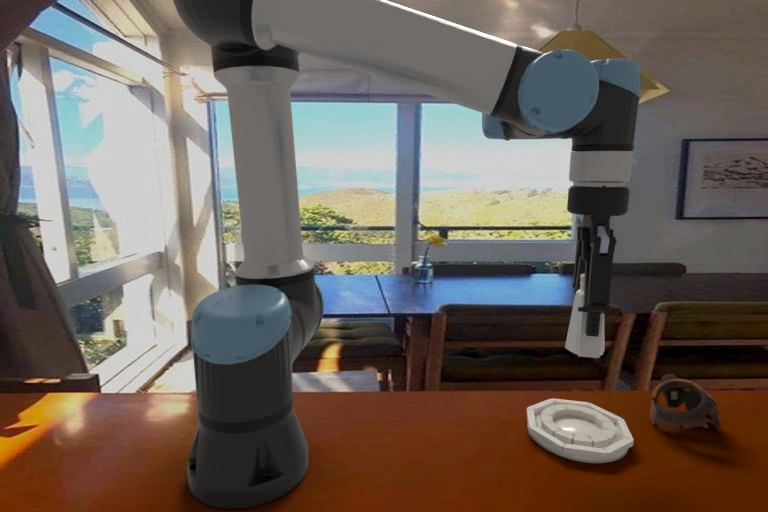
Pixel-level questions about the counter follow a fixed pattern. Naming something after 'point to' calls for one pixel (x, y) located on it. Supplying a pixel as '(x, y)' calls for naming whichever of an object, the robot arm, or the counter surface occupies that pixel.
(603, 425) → the dish
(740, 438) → the counter surface
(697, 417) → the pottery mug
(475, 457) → the counter surface
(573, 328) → the pepper shaker
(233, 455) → the robot arm
